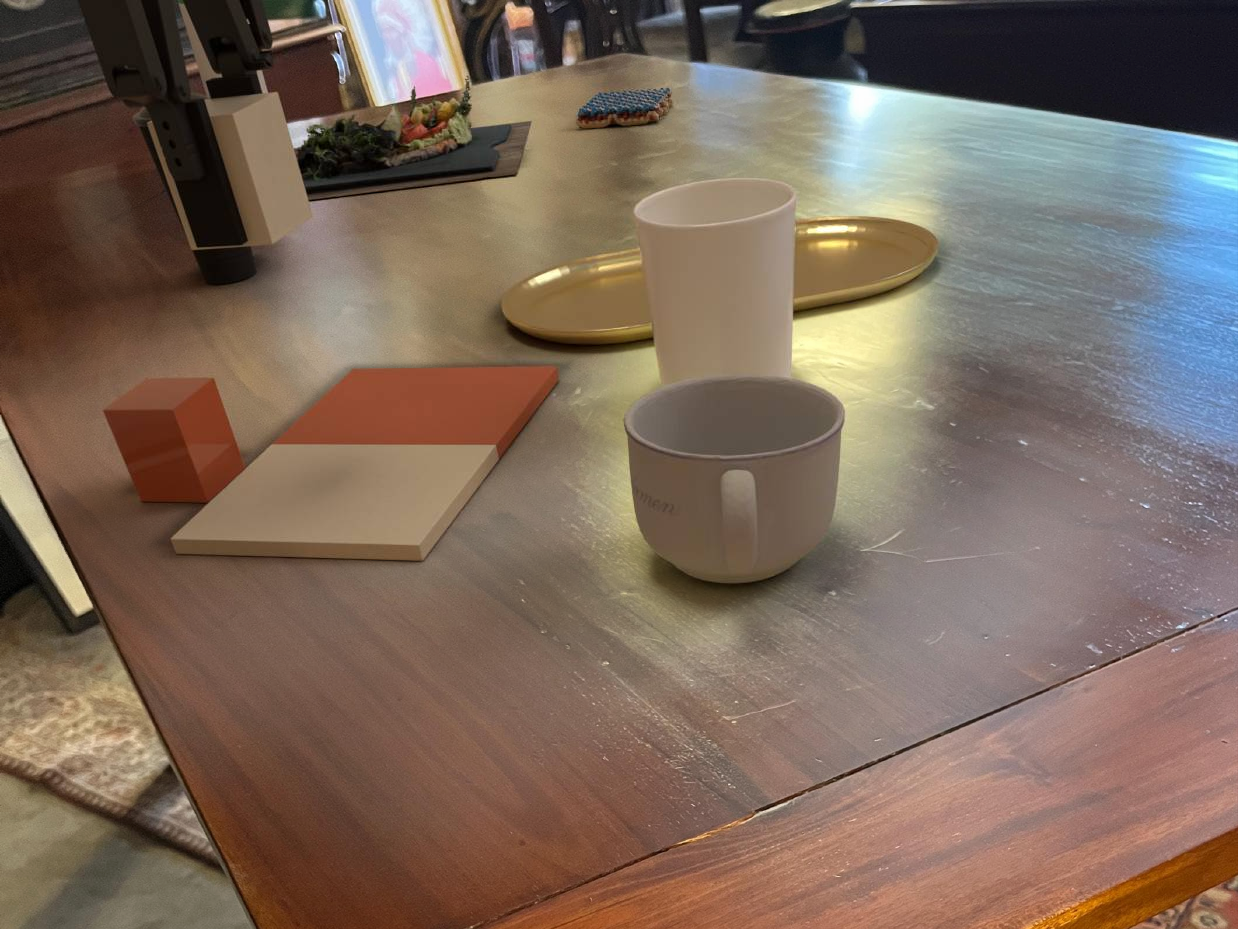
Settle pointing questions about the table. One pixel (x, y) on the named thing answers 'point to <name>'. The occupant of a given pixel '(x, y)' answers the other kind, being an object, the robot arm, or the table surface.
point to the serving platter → (617, 300)
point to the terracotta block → (175, 439)
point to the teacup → (734, 472)
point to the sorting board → (372, 465)
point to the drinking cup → (212, 262)
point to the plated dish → (408, 150)
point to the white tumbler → (720, 276)
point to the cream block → (254, 167)
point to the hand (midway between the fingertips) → (247, 227)
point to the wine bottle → (201, 57)
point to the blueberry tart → (624, 108)
